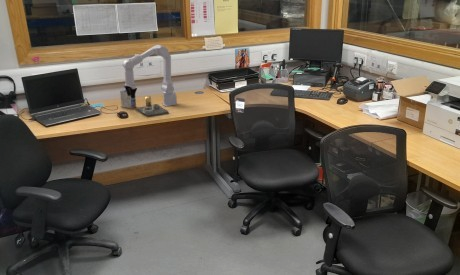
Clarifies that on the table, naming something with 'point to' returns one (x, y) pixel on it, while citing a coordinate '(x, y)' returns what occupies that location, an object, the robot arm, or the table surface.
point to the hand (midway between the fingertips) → (131, 96)
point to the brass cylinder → (148, 100)
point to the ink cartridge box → (127, 100)
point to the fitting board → (156, 111)
